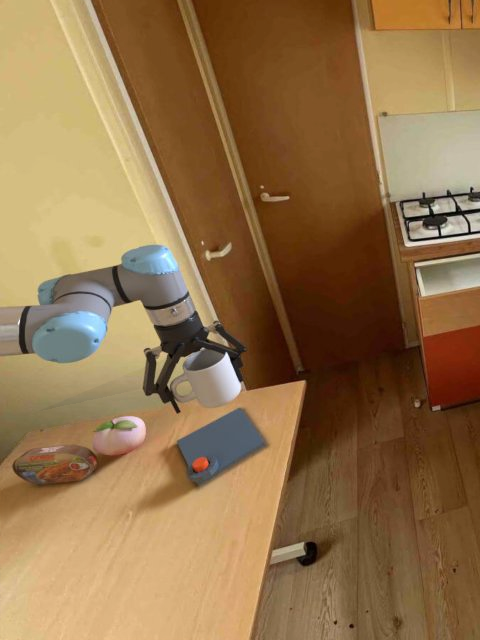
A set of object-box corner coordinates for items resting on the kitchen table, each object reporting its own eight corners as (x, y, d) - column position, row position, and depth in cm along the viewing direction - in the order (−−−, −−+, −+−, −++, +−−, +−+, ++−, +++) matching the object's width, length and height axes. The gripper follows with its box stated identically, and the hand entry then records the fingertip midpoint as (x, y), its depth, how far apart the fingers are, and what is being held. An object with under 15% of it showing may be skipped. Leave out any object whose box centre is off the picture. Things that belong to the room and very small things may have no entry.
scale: (195, 491, 91) (190, 482, 89) (174, 446, 101) (170, 438, 99) (267, 447, 101) (263, 438, 99) (241, 410, 111) (238, 402, 109)
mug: (233, 376, 104) (219, 341, 99) (247, 392, 99) (233, 356, 94) (176, 405, 96) (157, 368, 91) (188, 424, 91) (169, 387, 86)
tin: (23, 485, 92) (1, 460, 88) (36, 472, 95) (15, 447, 91) (97, 479, 93) (79, 454, 89) (107, 466, 96) (90, 441, 92)
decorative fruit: (160, 431, 105) (144, 402, 100) (145, 459, 98) (127, 429, 93) (116, 439, 102) (97, 410, 98) (96, 469, 95) (75, 439, 91)
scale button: (197, 474, 91) (194, 469, 91) (193, 467, 93) (190, 462, 92) (210, 466, 93) (208, 461, 92) (207, 459, 95) (204, 454, 94)
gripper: (101, 354, 77) (148, 435, 87) (245, 299, 93) (271, 373, 103) (94, 336, 81) (140, 416, 91) (233, 287, 97) (259, 359, 107)
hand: (210, 393), depth 97 cm, fingers closed on mug, 12 cm apart
